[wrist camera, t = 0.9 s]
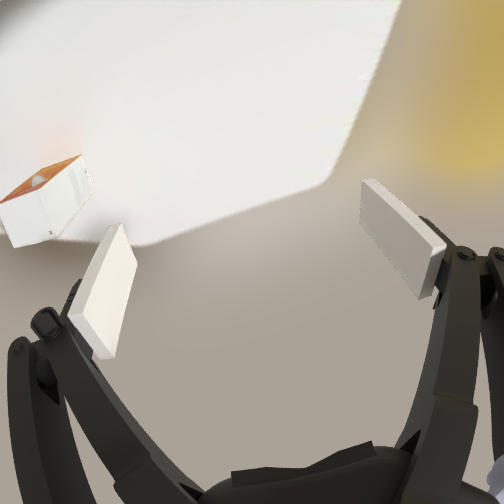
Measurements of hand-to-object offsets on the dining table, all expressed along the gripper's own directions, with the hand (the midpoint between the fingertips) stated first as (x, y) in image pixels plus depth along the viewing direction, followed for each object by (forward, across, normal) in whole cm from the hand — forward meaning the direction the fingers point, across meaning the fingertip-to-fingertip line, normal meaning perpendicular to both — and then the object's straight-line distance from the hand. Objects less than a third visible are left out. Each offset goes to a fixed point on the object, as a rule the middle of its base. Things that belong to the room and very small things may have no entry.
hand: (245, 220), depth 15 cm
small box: (+26, -24, -1) cm, 36 cm away
